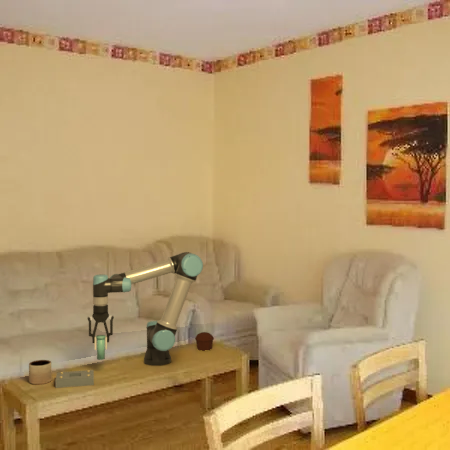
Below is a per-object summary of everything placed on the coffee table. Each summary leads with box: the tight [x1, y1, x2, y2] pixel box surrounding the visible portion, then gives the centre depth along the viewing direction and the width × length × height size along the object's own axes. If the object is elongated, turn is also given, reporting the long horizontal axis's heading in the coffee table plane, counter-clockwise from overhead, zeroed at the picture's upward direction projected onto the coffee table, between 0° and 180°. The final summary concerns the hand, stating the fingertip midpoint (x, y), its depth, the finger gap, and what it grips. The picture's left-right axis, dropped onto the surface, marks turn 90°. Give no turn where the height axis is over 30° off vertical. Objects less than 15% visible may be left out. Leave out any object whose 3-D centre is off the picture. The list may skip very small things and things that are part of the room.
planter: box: [28, 359, 53, 385], centre depth 288 cm, size 11×11×10 cm
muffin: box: [194, 331, 215, 352], centre depth 350 cm, size 12×11×10 cm
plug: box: [95, 334, 106, 361], centre depth 299 cm, size 5×5×12 cm
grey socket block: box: [55, 369, 95, 389], centre depth 286 cm, size 18×12×5 cm, turn 103°
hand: (100, 348), depth 299 cm, fingers closed on plug, 5 cm apart
